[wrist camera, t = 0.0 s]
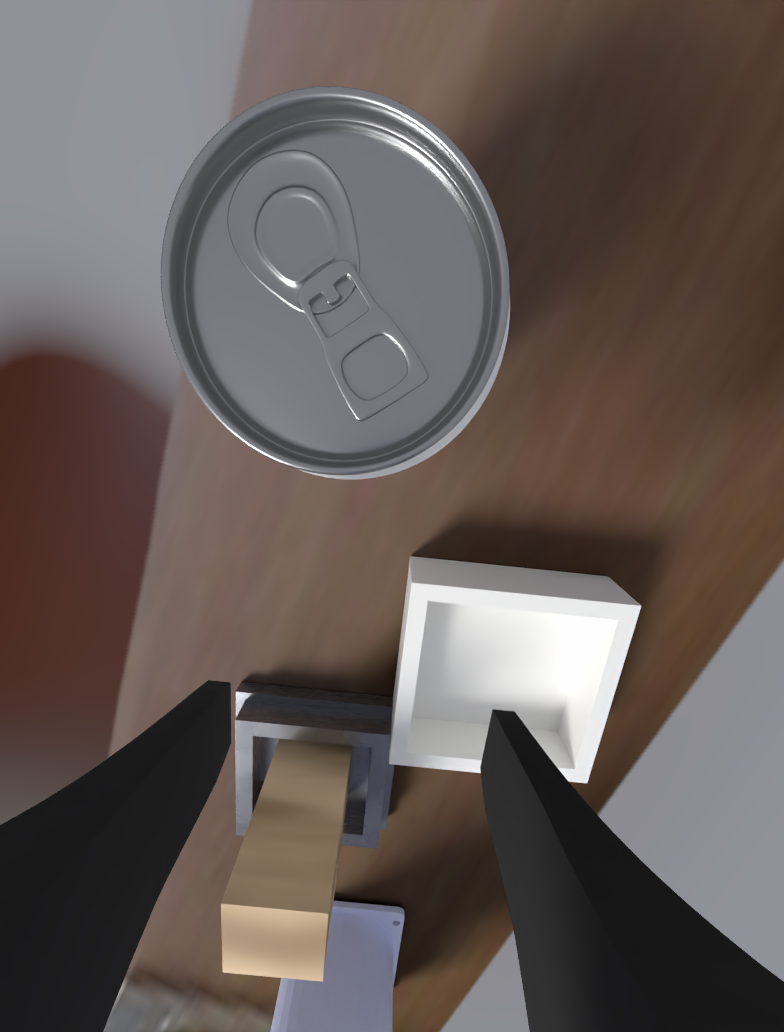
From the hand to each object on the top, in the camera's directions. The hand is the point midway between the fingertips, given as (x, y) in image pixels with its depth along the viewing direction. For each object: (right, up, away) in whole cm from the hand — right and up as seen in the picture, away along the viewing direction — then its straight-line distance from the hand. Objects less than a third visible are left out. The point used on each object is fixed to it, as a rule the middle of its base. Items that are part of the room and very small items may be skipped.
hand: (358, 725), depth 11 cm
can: (0, +13, +7) cm, 14 cm away
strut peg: (-4, -8, +12) cm, 15 cm away
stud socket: (-3, -8, +13) cm, 16 cm away
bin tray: (+6, -2, +11) cm, 13 cm away
